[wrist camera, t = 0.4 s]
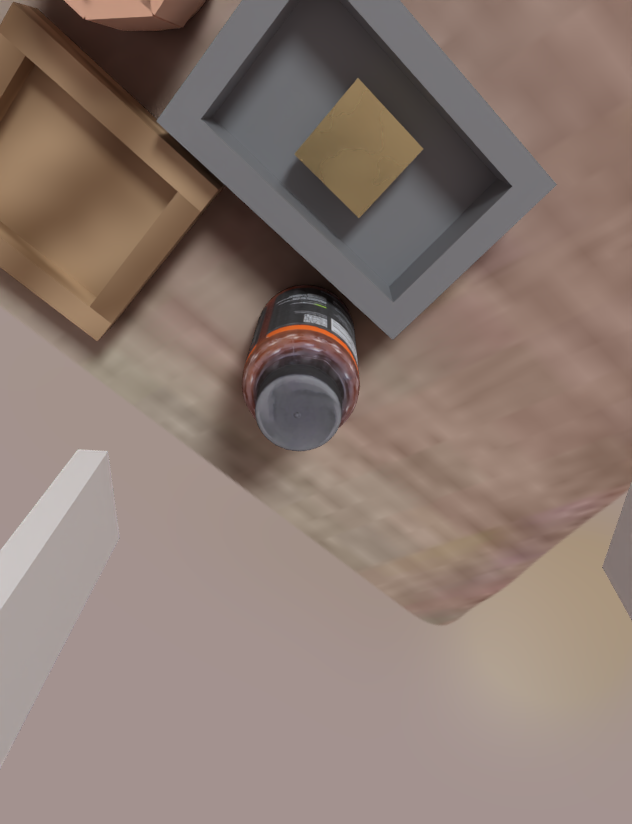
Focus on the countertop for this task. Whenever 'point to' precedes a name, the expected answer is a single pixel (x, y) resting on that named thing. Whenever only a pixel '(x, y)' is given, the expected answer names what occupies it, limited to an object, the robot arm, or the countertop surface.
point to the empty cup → (137, 13)
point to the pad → (358, 149)
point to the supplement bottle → (302, 368)
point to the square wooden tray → (85, 178)
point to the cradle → (309, 104)
